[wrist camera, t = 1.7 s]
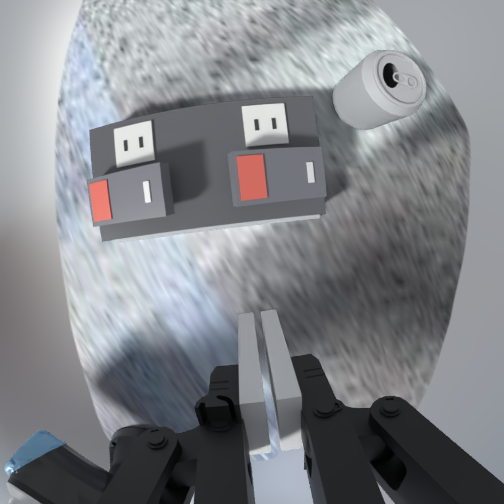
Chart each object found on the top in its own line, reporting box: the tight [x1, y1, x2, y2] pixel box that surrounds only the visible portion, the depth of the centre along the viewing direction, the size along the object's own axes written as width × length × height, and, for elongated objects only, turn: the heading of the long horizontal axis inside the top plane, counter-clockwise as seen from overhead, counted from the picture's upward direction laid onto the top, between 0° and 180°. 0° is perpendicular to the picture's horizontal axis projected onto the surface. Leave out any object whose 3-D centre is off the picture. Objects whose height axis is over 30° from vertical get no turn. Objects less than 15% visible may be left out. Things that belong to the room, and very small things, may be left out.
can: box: [333, 50, 427, 130], centre depth 27 cm, size 8×8×12 cm
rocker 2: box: [227, 147, 327, 207], centre depth 27 cm, size 5×9×2 cm, turn 96°
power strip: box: [89, 96, 326, 243], centre depth 31 cm, size 15×26×5 cm, turn 96°
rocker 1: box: [87, 162, 175, 227], centre depth 27 cm, size 5×9×2 cm, turn 96°
